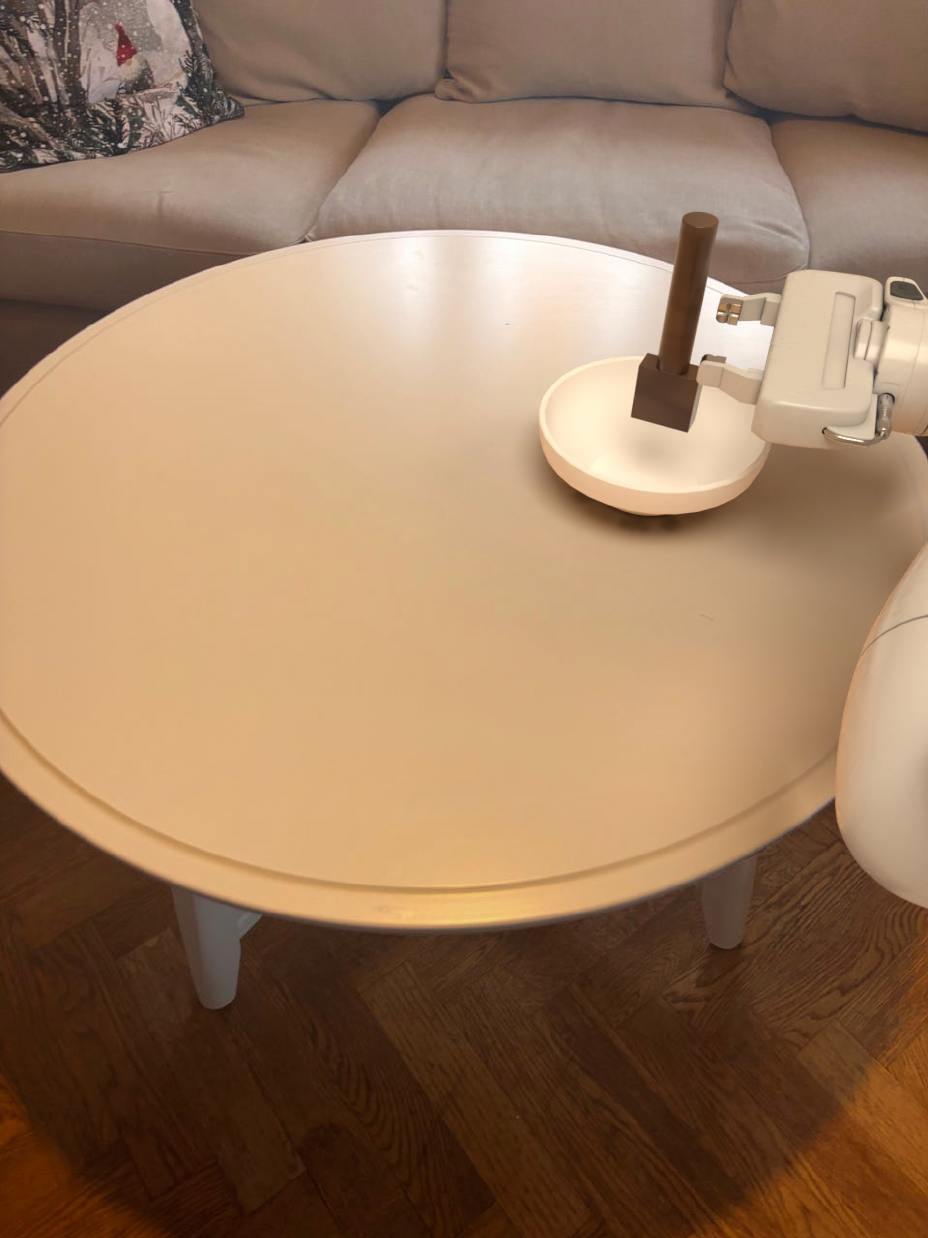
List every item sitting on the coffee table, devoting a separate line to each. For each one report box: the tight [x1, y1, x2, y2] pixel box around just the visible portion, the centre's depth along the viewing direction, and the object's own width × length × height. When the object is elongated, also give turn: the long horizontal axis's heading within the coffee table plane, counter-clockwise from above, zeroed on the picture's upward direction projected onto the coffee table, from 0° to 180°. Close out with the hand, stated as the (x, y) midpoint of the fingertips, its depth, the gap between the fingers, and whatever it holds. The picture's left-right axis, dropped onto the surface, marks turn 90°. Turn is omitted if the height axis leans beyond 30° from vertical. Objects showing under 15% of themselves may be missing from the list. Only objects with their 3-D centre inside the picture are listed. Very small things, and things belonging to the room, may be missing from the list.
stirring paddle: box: [631, 211, 720, 433], centre depth 75 cm, size 5×3×17 cm, turn 64°
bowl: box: [538, 355, 773, 516], centre depth 84 cm, size 20×20×7 cm
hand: (708, 336), depth 75 cm, fingers open, 8 cm apart
